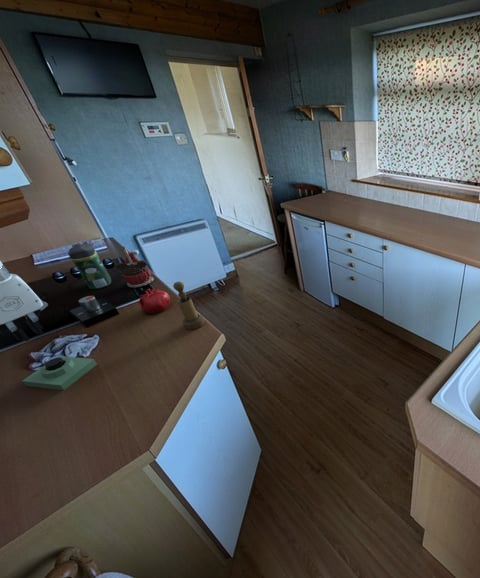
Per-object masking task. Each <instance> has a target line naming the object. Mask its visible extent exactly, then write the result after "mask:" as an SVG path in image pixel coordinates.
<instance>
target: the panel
mask: <svg viewBox="0 0 480 578" xmlns="http://www.w3.org/2000/svg"><path fill="white" fill-rule="evenodd" d="M96 300H97V302H98V304H99V305H100V308H99V309H98V310H96V311H93V312H85V311H84V309H83V308H82V306H81V305H80V306H78V307H75V308H73V309H70V310H69V312H70V314H71V316H72V317H73V318H74V319H76V320H77V321H78V320H79V321H80V322H81V323H80V322H79V321H78V322H79V323H80V324H81V325H83V326H84V327H85V328H86V329H88V328H90V327H92V326H94V325H96V324H99V323H101V322H104V321H106V320H108V319H111V318H113V317H116V316H118V315H120V311H118V309H117V307H116V306H114V305H113V304H111V303H109V301H107V300H105V299H104V298H99V299H96Z"/></svg>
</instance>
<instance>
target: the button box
mask: <svg viewBox="0 0 480 578" xmlns="http://www.w3.org/2000/svg"><path fill="white" fill-rule="evenodd" d="M55 358H62V359H63V361H64V362H65V364H64V365H63V366H61V367H60V368H58V369H55V370H51V371H49V370H48V369H47V368H46V367H45V366H44V365H42V366H41V367H40V368H39V369H37V370H35V371H34V372H32V373H31V374H29V375H28V376H27V377H25V378H24V379H23V380H21V382H22V384H24V385H25V387H31V388H38V389H39V388H42V389H50V390H58V391H65V390H67V389H68V388H69V387H71V386H72V385H73V384H74V383H75V382H77V381H78V380H79V379H80V378H82V377H83V376H85V375H86V374H87V373H89V371H90V370H92V369H93V368H95V367H96V366H97V365H98V362H97V361H96V360H95V359H94V358H87V357H86V358H85V357H75V356H67V355H65V356H64V355H58V356H56V357H55Z"/></svg>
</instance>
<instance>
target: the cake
mask: <svg viewBox="0 0 480 578" xmlns="http://www.w3.org/2000/svg"><path fill="white" fill-rule="evenodd" d="M122 249H123V251H124V253H125V258H124V262H119V263H117V264H116V265H115V266H116V268H117V270H120V271H122V274H121V276H122V278H123V281H125V282H127V283H126V285H127V287H129V288H134V289H135V288H140V287H143V286H146V285H149V284H151V283H153V282H154V279H155V278H154V277H153V276H151V275H152V272H151V270H150V268H149V267H147V266H148V265H149V262H148V261H147V260H145V259H139V258H138V257H136V256H138V255H139V253H140V252H139V250H137V249H134V250H132V251H130V252H128V250H127V248H126V246H122Z"/></svg>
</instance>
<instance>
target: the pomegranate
mask: <svg viewBox="0 0 480 578" xmlns="http://www.w3.org/2000/svg"><path fill="white" fill-rule="evenodd" d="M144 292H145V294H140V295H139V300H138V306H139V307H140V309H141V310H142V311H144V312H146V313H148V314H157V313H160V312H161V313H162V312H163V311H166V309H167V308H168V307H169V306H170V304H171V295H169V293H167V292H166V291H164V290H161V289H160V288H156V289H154V288H152V289H150V288H147V289H146V290H144Z"/></svg>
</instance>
